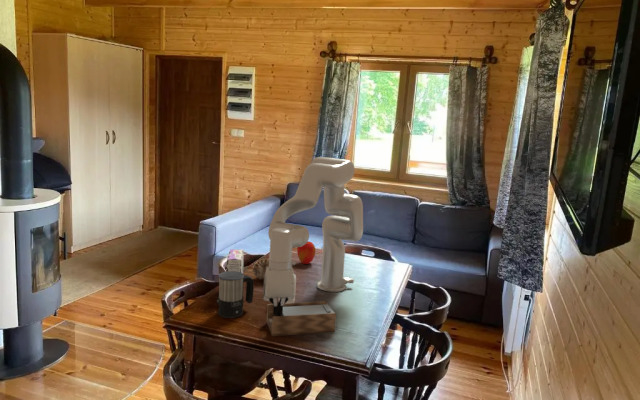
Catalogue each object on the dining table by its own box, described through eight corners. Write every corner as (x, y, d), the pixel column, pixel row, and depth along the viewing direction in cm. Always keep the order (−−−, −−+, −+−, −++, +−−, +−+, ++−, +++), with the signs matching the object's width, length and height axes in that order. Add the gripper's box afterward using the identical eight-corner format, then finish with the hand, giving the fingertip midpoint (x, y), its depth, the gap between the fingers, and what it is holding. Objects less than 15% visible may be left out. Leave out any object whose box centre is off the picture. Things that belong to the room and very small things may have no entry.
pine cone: (267, 286, 210) (268, 264, 208) (247, 282, 213) (248, 260, 211) (287, 271, 230) (288, 251, 229) (269, 268, 233) (270, 248, 232)
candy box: (228, 286, 207) (229, 248, 204) (242, 286, 208) (244, 249, 205) (225, 298, 194) (226, 258, 191) (240, 298, 194) (241, 259, 191)
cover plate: (327, 308, 179) (328, 302, 178) (335, 318, 170) (336, 312, 170) (279, 310, 174) (279, 305, 173) (284, 321, 165) (285, 315, 165)
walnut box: (325, 318, 180) (326, 301, 179) (334, 331, 170) (336, 313, 169) (266, 322, 174) (267, 304, 173) (272, 336, 164) (273, 317, 163)
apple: (312, 267, 239) (313, 243, 237) (294, 264, 241) (295, 241, 239) (316, 261, 248) (317, 238, 246) (299, 259, 250) (300, 236, 248)
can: (297, 300, 196) (298, 272, 194) (290, 306, 190) (292, 276, 188) (282, 297, 198) (283, 269, 196) (275, 303, 192) (277, 274, 190)
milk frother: (231, 321, 174) (232, 281, 171) (199, 309, 182) (199, 271, 179) (256, 308, 186) (258, 271, 183) (225, 298, 194) (226, 262, 191)
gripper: (299, 260, 171) (296, 310, 174) (256, 261, 167) (254, 312, 170) (304, 267, 164) (301, 319, 167) (259, 268, 160) (257, 321, 163)
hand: (277, 315), depth 169 cm, fingers closed
